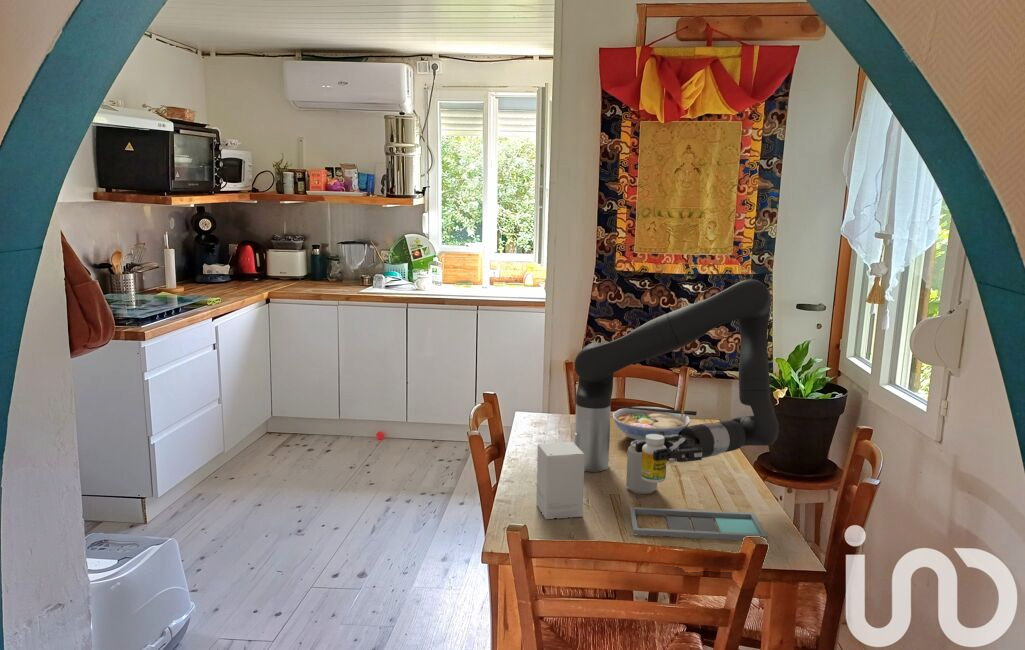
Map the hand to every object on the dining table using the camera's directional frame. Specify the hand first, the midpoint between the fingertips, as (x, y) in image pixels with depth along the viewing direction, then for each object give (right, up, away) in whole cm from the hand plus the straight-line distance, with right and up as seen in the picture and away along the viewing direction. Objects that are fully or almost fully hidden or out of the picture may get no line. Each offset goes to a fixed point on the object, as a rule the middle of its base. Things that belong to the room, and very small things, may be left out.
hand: (645, 451), depth 162 cm
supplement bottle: (+2, -6, +2) cm, 7 cm away
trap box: (+12, -17, +3) cm, 21 cm away
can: (+3, -14, +24) cm, 28 cm away
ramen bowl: (+12, -7, +62) cm, 63 cm away
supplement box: (-18, -16, +11) cm, 26 cm away
